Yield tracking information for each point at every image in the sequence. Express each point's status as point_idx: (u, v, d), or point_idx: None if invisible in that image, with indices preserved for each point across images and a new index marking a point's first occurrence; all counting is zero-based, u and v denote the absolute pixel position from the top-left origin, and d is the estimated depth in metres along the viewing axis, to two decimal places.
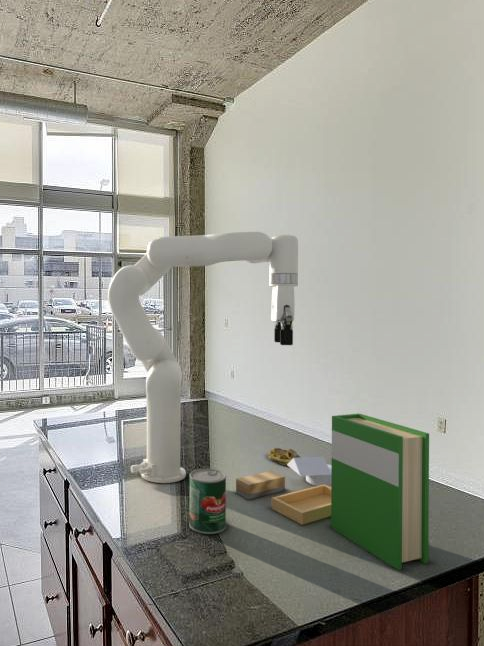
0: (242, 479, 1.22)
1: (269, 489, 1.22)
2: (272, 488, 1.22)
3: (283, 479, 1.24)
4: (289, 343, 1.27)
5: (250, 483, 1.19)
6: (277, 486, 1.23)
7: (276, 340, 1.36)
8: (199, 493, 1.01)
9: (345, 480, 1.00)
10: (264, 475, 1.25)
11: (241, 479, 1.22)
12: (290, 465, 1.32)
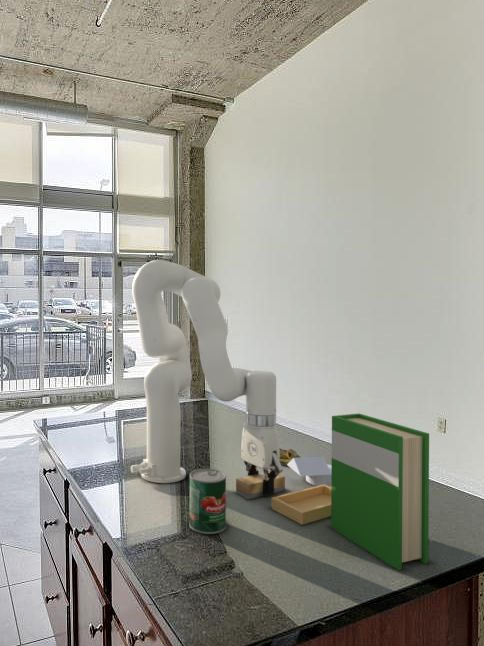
0: (242, 479, 1.22)
1: None
2: None
3: (283, 479, 1.24)
4: None
5: (250, 483, 1.19)
6: (277, 486, 1.23)
7: None
8: (199, 493, 1.01)
9: (345, 480, 1.00)
10: None
11: (241, 479, 1.22)
12: (290, 465, 1.32)
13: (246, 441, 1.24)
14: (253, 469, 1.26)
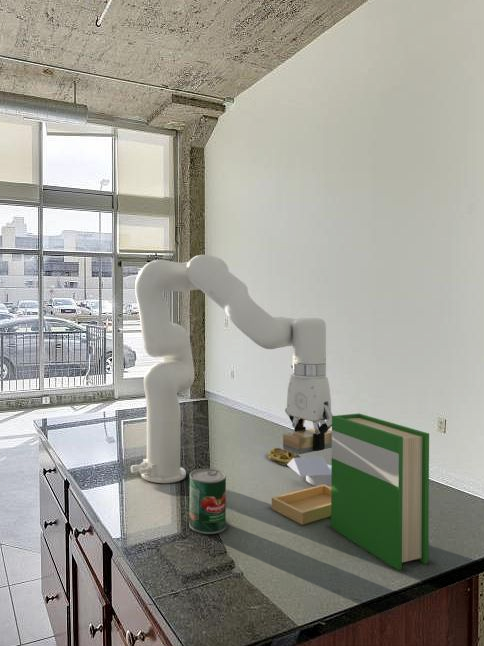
0: (289, 434, 1.13)
1: None
2: None
3: None
4: (322, 448, 1.12)
5: (300, 437, 1.10)
6: (327, 442, 1.14)
7: None
8: (199, 493, 1.01)
9: (345, 480, 1.00)
10: (313, 431, 1.16)
11: (289, 434, 1.13)
12: (290, 465, 1.32)
13: (293, 394, 1.15)
14: (300, 425, 1.17)
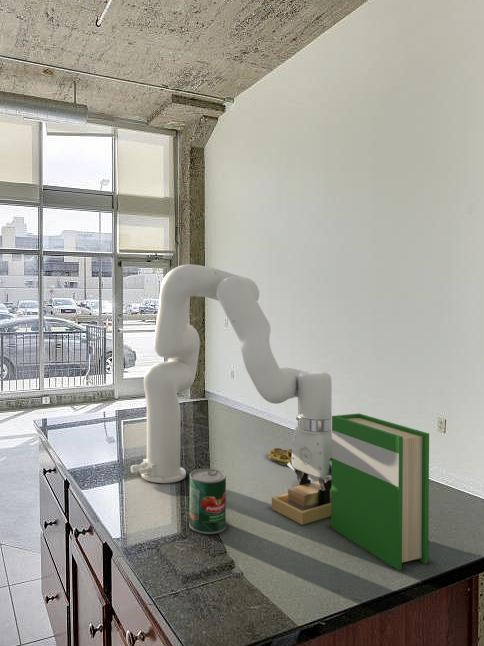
0: (294, 489, 1.12)
1: None
2: None
3: None
4: (327, 503, 1.11)
5: (305, 494, 1.09)
6: None
7: None
8: (199, 493, 1.01)
9: (345, 480, 1.00)
10: (318, 485, 1.15)
11: (294, 489, 1.12)
12: (290, 465, 1.32)
13: (298, 448, 1.14)
14: (305, 478, 1.16)
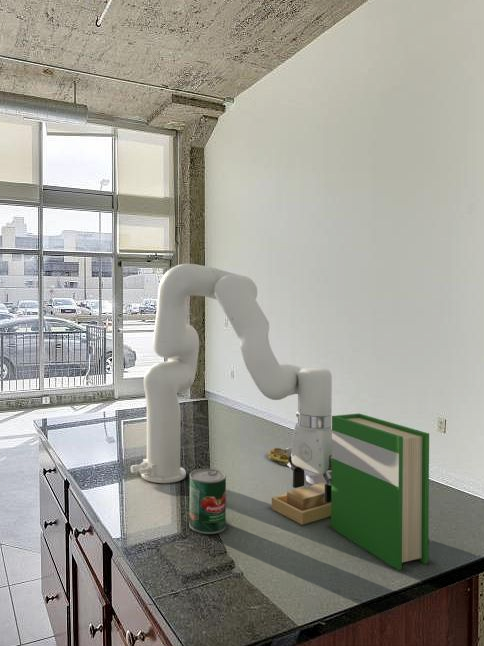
0: (293, 492, 1.12)
1: (323, 504, 1.12)
2: None
3: None
4: None
5: (304, 497, 1.09)
6: None
7: (296, 486, 1.17)
8: (199, 493, 1.01)
9: (345, 480, 1.00)
10: (317, 488, 1.15)
11: (293, 492, 1.12)
12: (290, 465, 1.32)
13: (298, 444, 1.14)
14: (299, 468, 1.17)
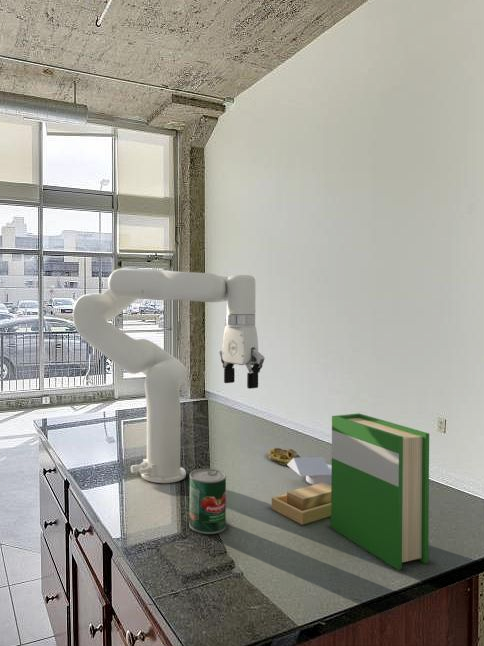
0: (293, 492, 1.12)
1: (323, 504, 1.12)
2: (327, 502, 1.12)
3: None
4: (255, 386, 1.25)
5: (304, 497, 1.09)
6: None
7: (227, 381, 1.32)
8: (199, 493, 1.01)
9: (345, 480, 1.00)
10: (317, 488, 1.15)
11: (293, 492, 1.12)
12: (290, 465, 1.32)
13: (227, 342, 1.30)
14: (229, 366, 1.33)
